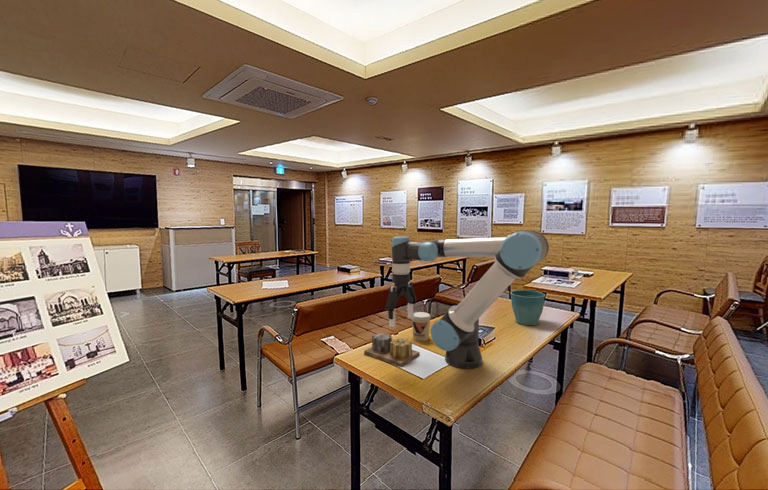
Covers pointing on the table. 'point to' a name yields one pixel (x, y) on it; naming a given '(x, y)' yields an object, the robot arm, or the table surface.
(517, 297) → the flower pot
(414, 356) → the gear board
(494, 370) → the table surface
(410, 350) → the brass gear
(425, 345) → the table surface
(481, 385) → the table surface
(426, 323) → the coffee cup
